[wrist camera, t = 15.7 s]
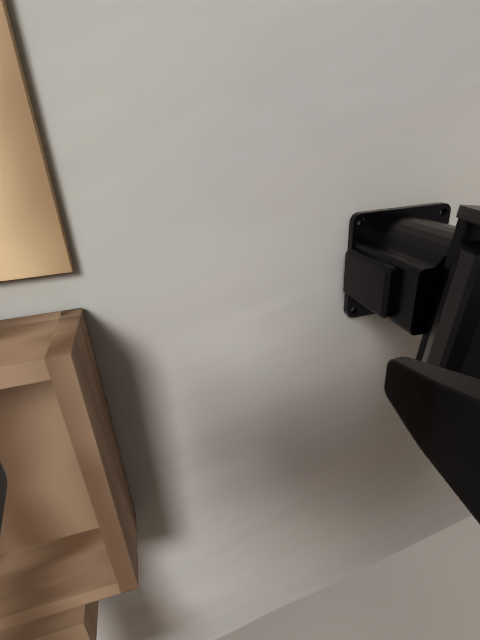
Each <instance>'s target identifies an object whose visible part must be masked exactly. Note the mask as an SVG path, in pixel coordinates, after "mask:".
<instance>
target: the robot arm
mask: <svg viewBox="0 0 480 640" xmlns="http://www.w3.org/2000/svg"><path fill="white" fill-rule="evenodd" d="M441 209H442V213H441V214H440V211H441ZM450 212H451V208H450V205H449V204H446V203H432V204H423V205H415V206H406V207H398V208H389V209H381V210H372V211H364V212H357V213H355V214H354V215H352V217H351V219H350V225H349V240H348V250H347V252H346V258H345V273H344V289H343V290H344V292H345V301H344V312H345V314H347V315H348V316H349V317H359V316H364V315H370V314H377V315H378V316H380V317H381V318H387V319H389V320H390V321H392V322H393V323H395V324H396V325H398V326H399V327H401V328H402V329H404V330H405V331H407V332H408V333H410V334H411V335H419V334H421V335H423V337H422V340H421V343H420V347H419V350H418V353H417V357H416V360H415V359H412V358H408V357H400V358H395V359H391V360H390V361H389V362H388V363H387V369H386V377H385V384H384V389H385V394H386V396H387V398H388V399H389V401H390V402H391V404H392V406H393V407H394V409H395V410H396V412H397V413H398V415H399V417H400V418H401V420H402V421H403V423H404V424H405V426H406V428H407V429H408V431H409V432H410V434H411V435H412V437H413V439H414V440H415V441H416V443H417V444H418V446H419V447H420V449H421V450H422V451H423V453H424V454H425V455H426V457H427V458H428V459H429V460H430V462H431V463H432V464H433V465H434V467H435V468H436V469H437V471H438V472H439V473H440V474H441V476H442V477H443V478H444V479H445V481H446V482H447V483H448V485H449V486H450V487H451V488H452V490H453V491H454V492H455V493H456V495H457V496H458V497H459V499H460V500H461V501H462V502H463V504H464V505H465V506H466V507H467V509H468V510H469V511H470V513H471V514H472V515H473V516H474V518H475V519H476V520H477V521H478V523H479V524H480V206H473V205H460V206H459V209H458V212H457V216H456V217H457V218H458V221H457V224H456V226H453V225H449V224H448V223H449V217H450ZM360 218H361V220H362V221H361V223H360V224H359V225H357V222H358V220H359V219H360ZM353 307H355V308H354V310H353V311H351V309H352V308H353ZM6 492H7V476H6V473H5V471H4V468H3V466H2V464H1V462H0V534H1V527H2V520H3V513H4V506H5V499H6Z"/></svg>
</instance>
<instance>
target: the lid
mask: <svg viewBox="0 0 480 640" xmlns="http://www.w3.org/2000/svg"><path fill="white" fill-rule="evenodd" d="M73 269H74V267H73V263H72V259H71V255H70V251H69V247H68V243H67V240H66V236H65V232H64V228H63V224H62V220H61V216H60V212H59V208H58V205H57V201H56V197H55V193H54V189H53V185H52V181H51V177H50V173H49V170H48V166H47V162H46V158H45V154H44V150H43V146H42V142H41V139H40V135H39V131H38V127H37V123H36V119H35V115H34V111H33V107H32V104H31V100H30V96H29V92H28V88H27V84H26V80H25V76H24V72H23V69H22V65H21V61H20V57H19V53H18V49H17V45H16V41H15V37H14V34H13V30H12V26H11V22H10V18H9V14H8V10H7V6H6V2H5V0H0V281H6V280H14V279H22V278H29V277H37V276H45V275H52V274H60V273H68V272H72V271H73Z"/></svg>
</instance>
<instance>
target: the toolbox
mask: <svg viewBox="0 0 480 640" xmlns="http://www.w3.org/2000/svg"><path fill="white" fill-rule="evenodd" d="M0 462H1V464H2V466H3V468H4V471H5V473H6V476H7V492H6V499H5V506H4V513H3V520H2V527H1V534H0V640H96V635H97V617H98V600H101V599H104V598H107V597H110V596H114V595H117V594H120V593H123V592H127V591H130V590H133V589H136V588H138V558H137V528H136V513H135V509H134V506H133V502H132V498H131V494H130V490H129V486H128V482H127V479H126V475H125V471H124V467H123V463H122V459H121V456H120V452H119V448H118V444H117V440H116V436H115V432H114V429H113V425H112V421H111V417H110V413H109V409H108V406H107V402H106V398H105V394H104V390H103V386H102V382H101V379H100V375H99V371H98V367H97V363H96V359H95V356H94V352H93V348H92V344H91V340H90V336H89V332H88V329H87V325H86V321H85V317H84V313H83V309H82V308H78V309H71V310H65V311H58V312H51V313H45V314H38V315H32V316H25V317H18V318H12V319H5V320H0Z"/></svg>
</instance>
